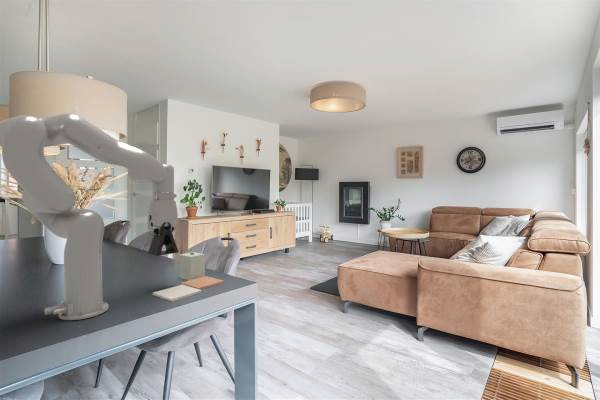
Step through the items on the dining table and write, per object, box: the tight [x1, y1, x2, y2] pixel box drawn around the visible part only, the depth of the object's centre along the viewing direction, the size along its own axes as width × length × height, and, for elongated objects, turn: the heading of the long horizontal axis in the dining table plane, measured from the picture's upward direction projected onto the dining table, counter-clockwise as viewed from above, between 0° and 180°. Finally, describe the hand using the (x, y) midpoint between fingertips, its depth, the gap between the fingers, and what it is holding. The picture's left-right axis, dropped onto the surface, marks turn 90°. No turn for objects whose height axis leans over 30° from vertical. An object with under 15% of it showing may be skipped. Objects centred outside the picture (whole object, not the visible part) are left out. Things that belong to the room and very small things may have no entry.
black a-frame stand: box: [147, 222, 179, 257], centre depth 120 cm, size 9×6×12 cm, turn 141°
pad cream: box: [152, 284, 203, 302], centre depth 114 cm, size 12×12×1 cm
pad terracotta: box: [179, 275, 225, 290], centre depth 126 cm, size 12×12×1 cm
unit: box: [178, 251, 206, 281], centre depth 135 cm, size 7×8×11 cm
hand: (163, 245), depth 120 cm, fingers closed on black a-frame stand
